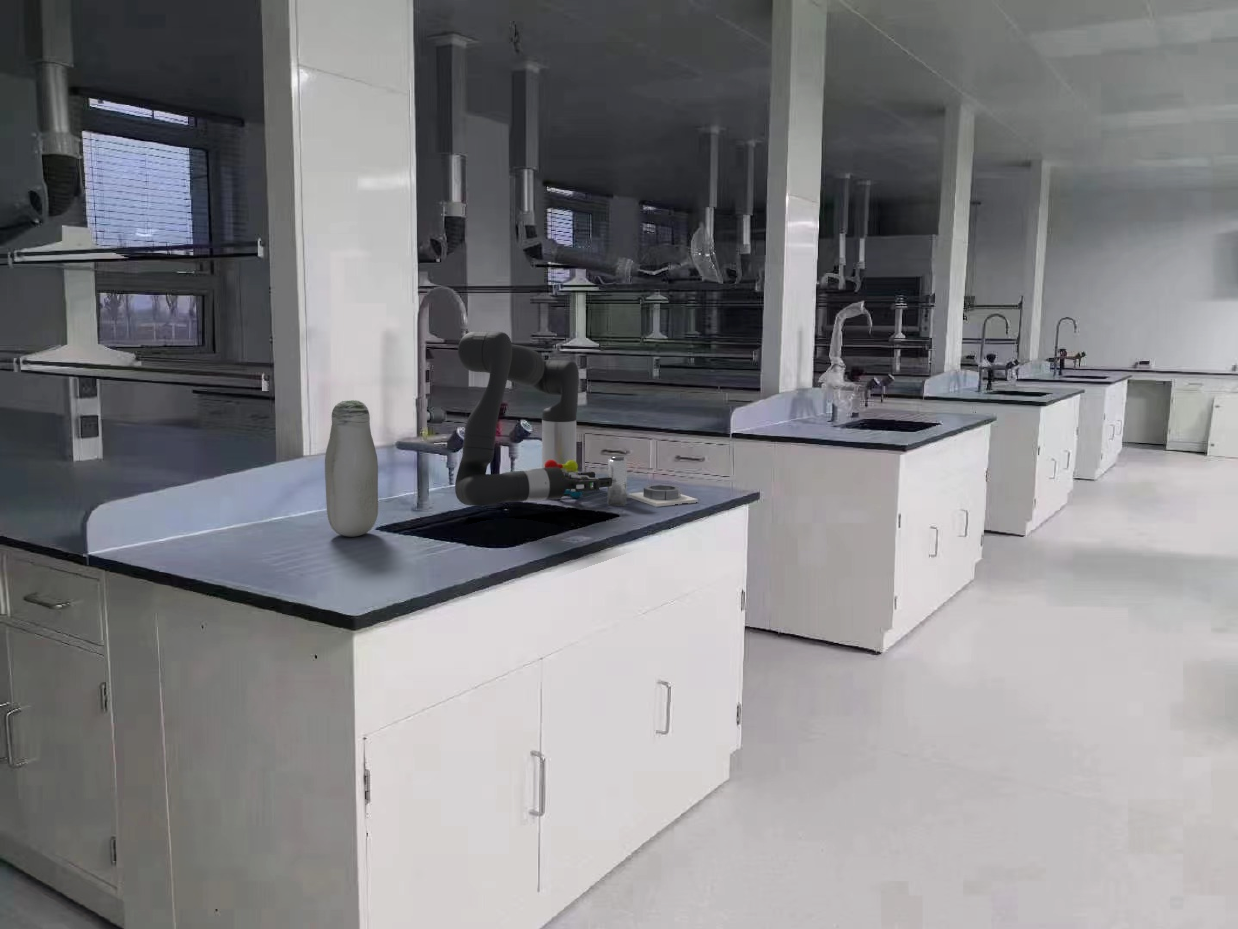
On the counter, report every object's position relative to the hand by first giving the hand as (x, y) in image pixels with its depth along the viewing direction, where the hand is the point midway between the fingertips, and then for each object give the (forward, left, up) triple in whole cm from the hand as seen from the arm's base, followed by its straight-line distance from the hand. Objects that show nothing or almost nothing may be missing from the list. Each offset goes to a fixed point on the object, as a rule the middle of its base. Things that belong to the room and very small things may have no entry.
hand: (602, 478), depth 233 cm
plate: (0, +17, -7) cm, 18 cm away
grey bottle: (+4, -61, -7) cm, 61 cm away
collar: (0, +17, -7) cm, 18 cm away
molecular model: (-15, -2, -7) cm, 16 cm away
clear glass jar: (0, +4, -7) cm, 8 cm away
